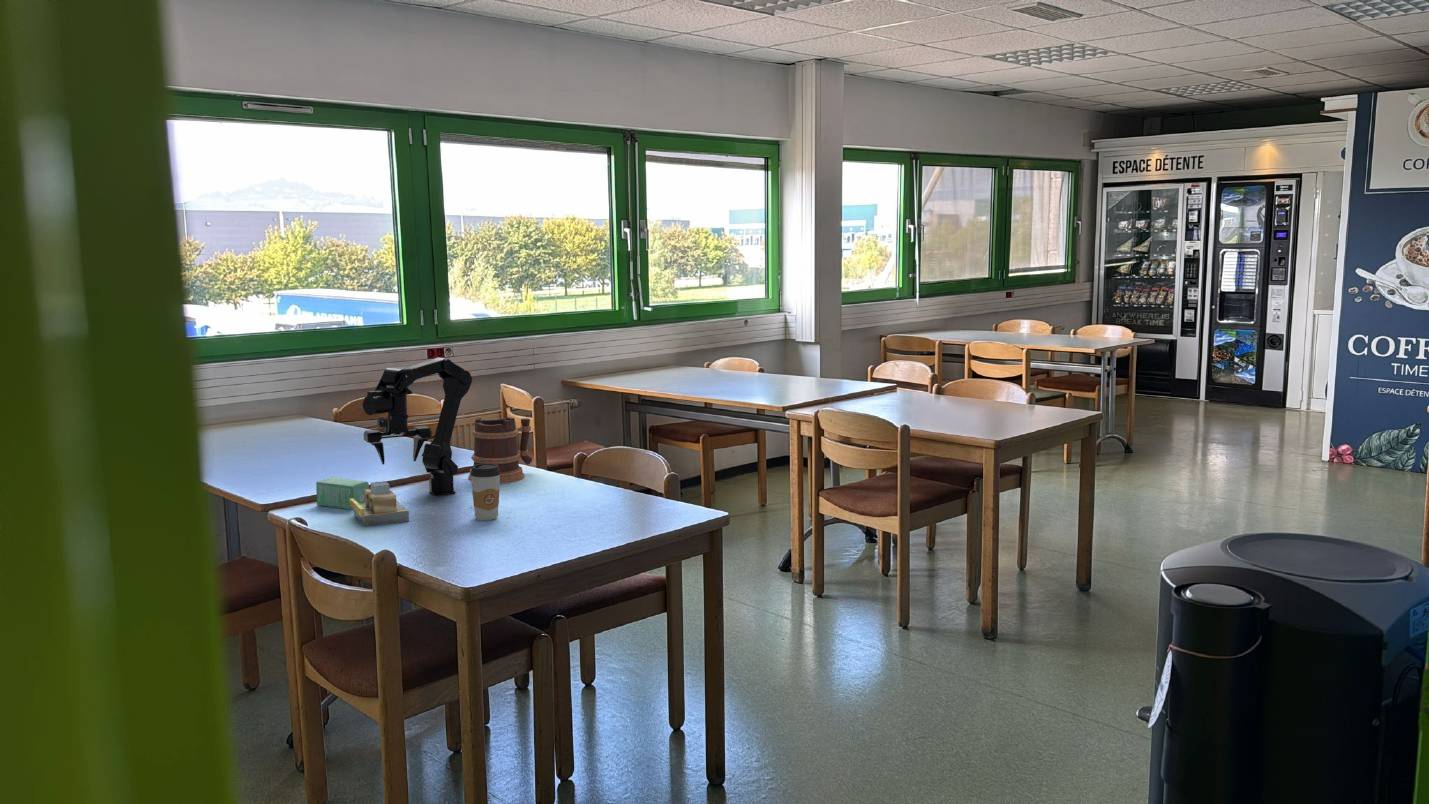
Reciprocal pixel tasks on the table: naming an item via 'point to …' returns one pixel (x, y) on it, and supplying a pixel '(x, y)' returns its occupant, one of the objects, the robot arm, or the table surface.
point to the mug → (501, 446)
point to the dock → (378, 514)
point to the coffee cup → (485, 490)
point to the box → (340, 492)
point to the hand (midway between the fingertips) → (399, 462)
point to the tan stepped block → (380, 501)
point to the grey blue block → (380, 487)
